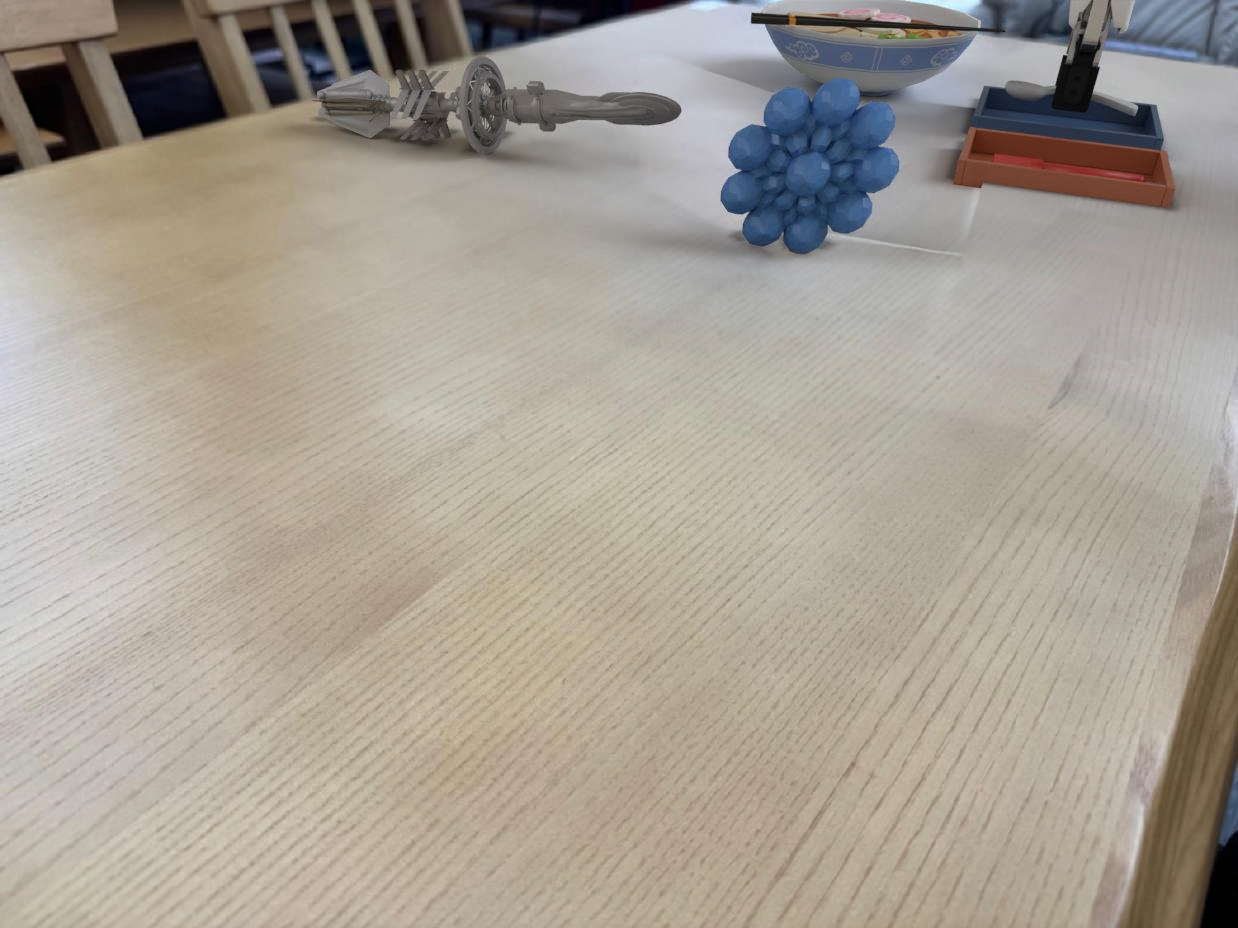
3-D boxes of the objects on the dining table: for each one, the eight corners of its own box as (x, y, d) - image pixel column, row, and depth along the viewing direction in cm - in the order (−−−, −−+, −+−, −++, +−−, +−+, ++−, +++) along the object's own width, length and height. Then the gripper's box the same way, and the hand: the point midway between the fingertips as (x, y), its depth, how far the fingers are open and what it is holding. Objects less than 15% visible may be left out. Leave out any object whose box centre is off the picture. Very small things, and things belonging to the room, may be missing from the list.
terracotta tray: (1157, 179, 85) (1167, 151, 84) (1164, 218, 78) (1175, 188, 76) (964, 153, 90) (969, 126, 89) (952, 188, 82) (958, 159, 81)
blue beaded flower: (879, 238, 73) (911, 67, 66) (882, 275, 67) (917, 92, 61) (722, 224, 74) (736, 55, 68) (712, 258, 69) (727, 79, 62)
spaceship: (658, 96, 74) (687, 34, 78) (276, 92, 86) (318, 38, 90) (675, 181, 80) (701, 119, 84) (317, 167, 92) (354, 113, 96)
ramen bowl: (957, 69, 117) (972, -7, 112) (997, 124, 98) (1018, 36, 93) (744, 58, 119) (750, -16, 114) (743, 111, 100) (751, 24, 95)
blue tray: (1148, 129, 98) (1156, 104, 96) (1155, 166, 88) (1164, 139, 87) (978, 109, 102) (984, 85, 101) (967, 142, 93) (973, 116, 92)
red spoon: (1142, 184, 83) (1146, 170, 82) (1143, 196, 81) (1148, 181, 80) (991, 164, 86) (995, 151, 86) (989, 175, 84) (992, 161, 83)
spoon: (1003, 92, 97) (1010, 71, 96) (1132, 118, 93) (1141, 97, 92) (999, 99, 94) (1006, 78, 93) (1131, 127, 91) (1140, 105, 90)
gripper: (1187, -109, 76) (1113, 134, 86) (1173, -124, 88) (1109, 90, 99) (1083, -115, 78) (1023, 123, 89) (1083, -128, 91) (1030, 81, 101)
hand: (1069, 104), depth 94 cm, fingers closed on spoon, 2 cm apart
